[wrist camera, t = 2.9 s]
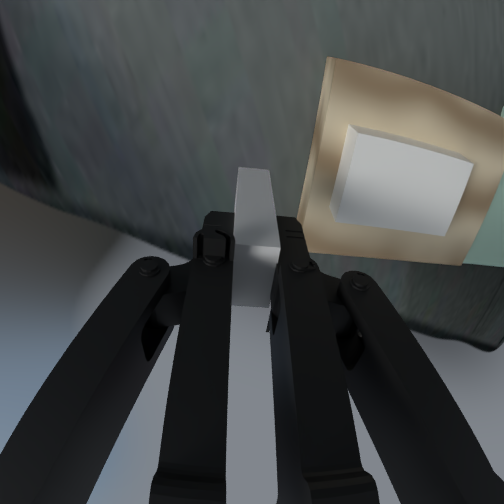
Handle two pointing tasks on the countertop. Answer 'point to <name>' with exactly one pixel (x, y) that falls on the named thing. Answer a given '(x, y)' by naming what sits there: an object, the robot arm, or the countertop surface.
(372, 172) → the white rectangular block
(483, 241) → the mat
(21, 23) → the countertop surface
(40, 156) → the countertop surface
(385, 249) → the wooden board
